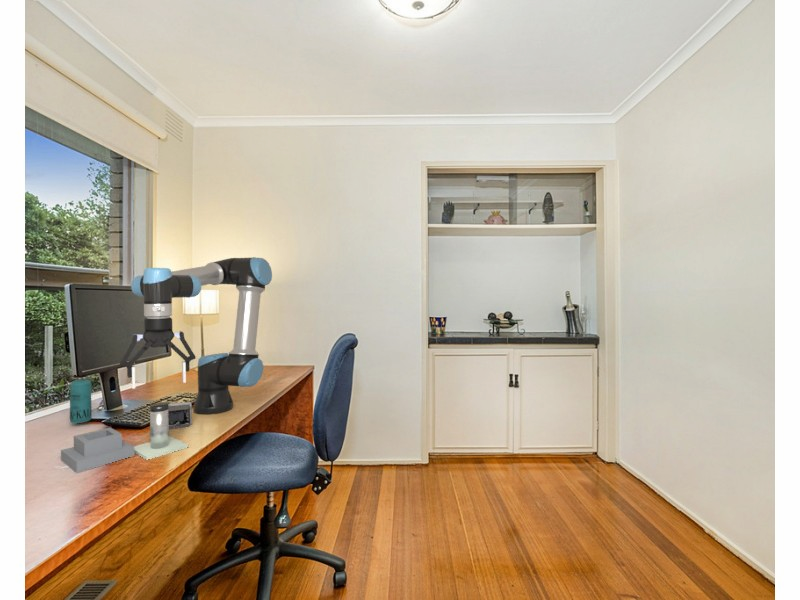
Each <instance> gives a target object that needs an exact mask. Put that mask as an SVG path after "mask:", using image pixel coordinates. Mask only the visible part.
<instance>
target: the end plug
mask: <svg viewBox="0 0 800 600" xmlns="http://www.w3.org/2000/svg"><path fill="white" fill-rule="evenodd" d="M169 404H170V403H168V402H157V403H153V404H151V405H149V428H150V429H149V431H150V432H149V435H150V436H149V438H150V439H149V442H150V448H151V449H161V448H164V447H167V446H168V445H169V437H170V435H169V434H170V433H169V432H170V430H169Z"/></svg>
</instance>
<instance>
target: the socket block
mask: <svg viewBox="0 0 800 600" xmlns="http://www.w3.org/2000/svg"><path fill="white" fill-rule="evenodd" d="M134 446H135V445H132V444H131V443H129V442H127V441H125V440H124V439H123V433H121V432H120V431H118V430H116V429H114V428H112V427H107V428H106V427H105V428H102V429H98V430H94V431H90V432H86V433H80V434H77V435H73V446H72V447H67V448H64V449H61V450H60V460H61V462H63V463H64V464H65V465H66V466H67V467H69V468H70V469H71V470H72V471H74V472H75V474H79V473H82V471H83V472H86V471H88V470H89V469H90V470H92V468H93V469H96V468H99V467H98V466H100V467H102V465H103V466H106V465H105V464H107V465H109V464H108V463H110V464H113V463H112V462H114V463H116V462H115V461H117V462H119V461H118V460H121V459H124V460H126V459H125V458H127V459H129V458H128V457H131V458H133V457H132V456H134V457H135V453H134ZM121 461H122V460H121ZM95 467H96V468H95ZM85 470H86V471H85Z"/></svg>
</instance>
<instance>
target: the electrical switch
mask: <svg viewBox="0 0 800 600" xmlns="http://www.w3.org/2000/svg"><path fill="white" fill-rule="evenodd" d="M168 404H169V431H170V430H177V429H178V428H179V429H185V428H186V427H188V428H189V427H190V426H191V425H192V424H193V412H192V411H193V410H192V407H193V405H192V402H190V401H187V402H175V403H168ZM186 429H187V428H186Z"/></svg>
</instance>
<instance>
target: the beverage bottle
mask: <svg viewBox="0 0 800 600" xmlns="http://www.w3.org/2000/svg"><path fill="white" fill-rule="evenodd" d="M86 377H88V376H76V375H74V374H73V378H74V379H75V380H73V381H72V382H70V383H69V422H70V424H71V423H72V424H80V423H81V424H82V423H85V422H89V421H91V420H92V413H93V411H92V409H93V408H92V401H93V400H92V381H91V380H90V379H87V378H86ZM76 378H77V379H76ZM78 378H79V379H78ZM85 378H86V379H85Z"/></svg>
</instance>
